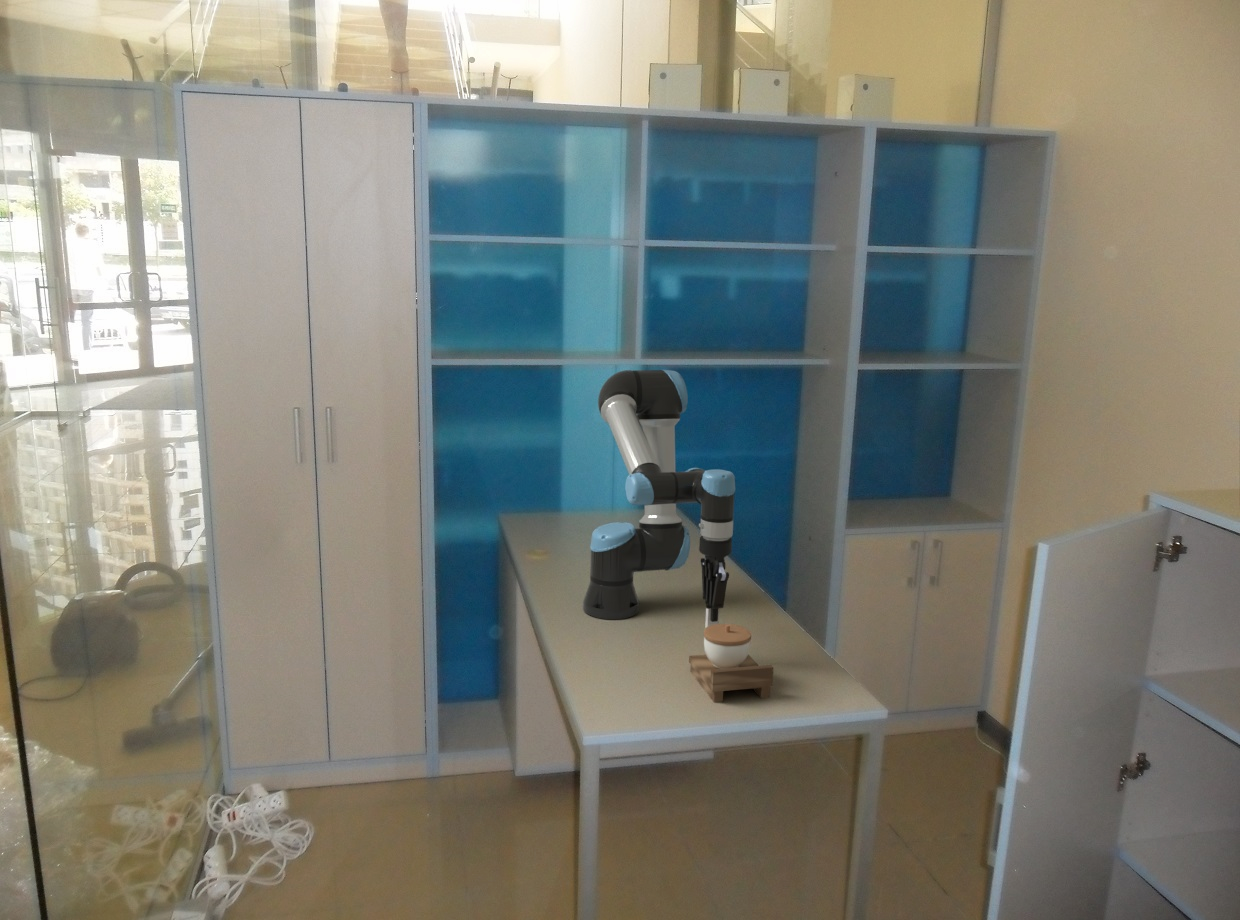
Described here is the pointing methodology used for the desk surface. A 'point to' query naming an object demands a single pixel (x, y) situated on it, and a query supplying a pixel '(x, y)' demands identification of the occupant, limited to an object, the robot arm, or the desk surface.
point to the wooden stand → (731, 677)
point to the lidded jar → (726, 645)
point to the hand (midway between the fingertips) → (711, 632)
